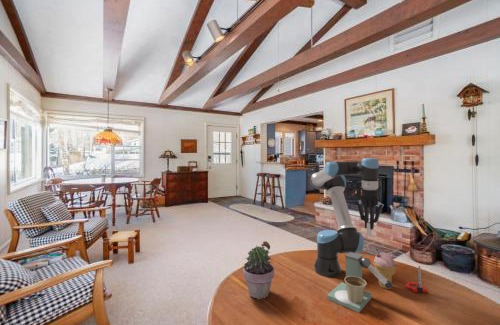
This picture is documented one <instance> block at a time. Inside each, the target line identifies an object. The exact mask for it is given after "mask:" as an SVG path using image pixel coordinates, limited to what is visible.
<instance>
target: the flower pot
mask: <svg viewBox="0 0 500 325" xmlns="http://www.w3.org/2000/svg"><path fill="white" fill-rule="evenodd" d="M344 282H345V284H346V286H347V294H348V298H349V300H350V301H352V302H355V303H358V302H359V303H361V302H362V301H363V294H364V291H365V288H366V286H367V284H368V283H367V281H366V280H365V279H363V277H362V278H359V277H355V276H347V277H346V276H345V277H344Z"/></svg>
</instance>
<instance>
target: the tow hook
mask: <svg viewBox="0 0 500 325" xmlns="http://www.w3.org/2000/svg"><path fill="white" fill-rule="evenodd" d="M412 286H415V287H412ZM405 287H406V288H407V289H409V290H411V291H412V292H413V293H420V294H423V293H425V294H428V292H429V291H428V289H426V287H425V286H424V285H422V271H421V266H420V265H418V270H417V282H412V281H411V282H410V281H409V282H406V283H405Z"/></svg>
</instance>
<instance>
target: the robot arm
mask: <svg viewBox="0 0 500 325" xmlns="http://www.w3.org/2000/svg"><path fill="white" fill-rule="evenodd" d="M379 167H380V164H379V159H378V158H374V157H364V158H362V159H361V161H360V160H352V161H351V160H350V161H348V160H347V161H335V160H333V161H332V160H331V161H327V162H326V163H325V165H324V168H323V169H321V170H320V171H317V172H314V173H312V174H311V176H310V177H309V183H310V185H311V186H312V187H313V188H314V189H317V190H320V191H321V190H326V193H327V194H328V195H330V201H331V204H332V207H333V211H334V216H335V219H336V223H337V227H338V229H337V230H334V229H324V230H321V231H319V232H318V233H317V235H316V237H317V238H316V242H317V243H316V244H317V245H316V250H317V251H316V252H317V255H316V259H315V263H314V272H316V274H318V275H321V276H324V277H331V278H332V277H338V276H340V275H341V273H342V268H341V264H340V261H339V259H338V256H339V254H348V253H349V252H352V253H356V254H359V253H361V252H362V251H363V249H364V248H365V247H364V246H365V239H364V236H363V234H362V233H361V232H359V231H357V228H356V227H355V226H354V225H353V222H352V218H351V214H350V211H349V208H348V204H347V201H346V198H345V195H344V191H345V189H346V187H347V179H346V177H345V176H361V191H360V192H361V197H360V198H359V200H357V201H355V204H356V205H357V210H358V213H359V218H360V220H361V221H363V223H364V228H365V229H366V236H367V237H371V236H372V234H373V231H372V230H374V228H375V227H374V226H375V224H376V223H378V222H379V219H380V215H381V212H382V209H383V208H384V207H385V204H384V203H381V202H380V199H379V190H378V189H379V169H380V168H379ZM363 206H364V209H363ZM376 207H377V208H376ZM375 208H376V213H375Z"/></svg>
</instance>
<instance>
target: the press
mask: <svg viewBox="0 0 500 325" xmlns="http://www.w3.org/2000/svg"><path fill="white" fill-rule="evenodd" d="M363 255H364V254H363ZM363 255H362V254H359V253H352V252H349V253H345V257H344V258H345V277H347V276H355V277H359V278H362V279H363V267H362V266H361V265H360V261H361V260H362V259H363V258H364V257H363ZM372 298H373V293H371V292H369V291H367V290H364V294H363V301H362V302H361V303H359V302H358V303H355V302H352V301H350V300H349V298H348V294H347V286H346V283H344V282H340V283H339V284H338V285H337V286H336V287H334V288H333V289H332V290H331V291H330V292H329V293H327V295H326V299H327V300H328V301H331V302H333V303H335V304H337V305H340V306H342V307H344V308H347V309H349V310H352V311H354V312H356V313H358V314H360V313H361V311H362V310H363V309H364V308H365V306H367V304H368V303H369V301H370V300H372Z"/></svg>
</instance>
